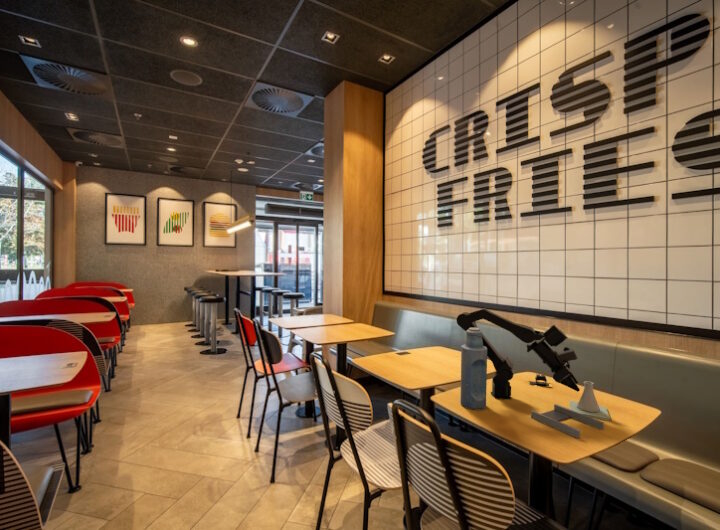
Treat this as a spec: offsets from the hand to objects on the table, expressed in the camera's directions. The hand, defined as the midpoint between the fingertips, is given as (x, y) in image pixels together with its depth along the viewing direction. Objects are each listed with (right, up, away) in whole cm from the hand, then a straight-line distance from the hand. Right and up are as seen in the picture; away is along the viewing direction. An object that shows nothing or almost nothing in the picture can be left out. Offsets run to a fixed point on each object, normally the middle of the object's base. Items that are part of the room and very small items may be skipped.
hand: (578, 387), depth 139 cm
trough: (-11, -9, -12) cm, 19 cm away
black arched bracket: (0, -9, +28) cm, 29 cm away
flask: (+3, -8, -1) cm, 9 cm away
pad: (+3, -9, -1) cm, 9 cm away
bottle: (-39, -8, +3) cm, 40 cm away
